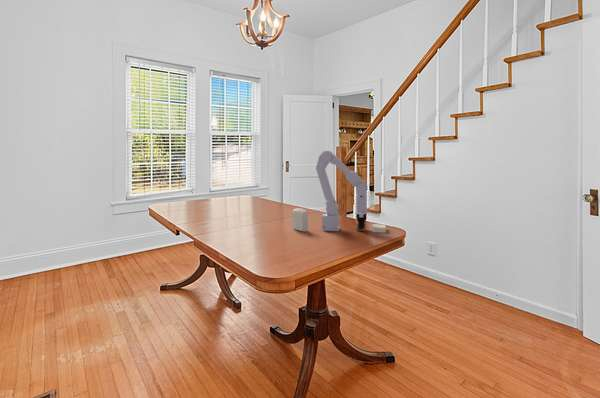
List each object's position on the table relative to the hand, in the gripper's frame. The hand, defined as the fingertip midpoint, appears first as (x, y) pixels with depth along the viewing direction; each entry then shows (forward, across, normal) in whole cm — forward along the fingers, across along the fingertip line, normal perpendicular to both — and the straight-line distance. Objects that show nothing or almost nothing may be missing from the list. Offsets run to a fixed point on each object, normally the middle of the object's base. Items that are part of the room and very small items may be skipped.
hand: (361, 227), depth 181 cm
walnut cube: (+1, 0, 0) cm, 1 cm away
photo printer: (+2, -3, +34) cm, 34 cm away
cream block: (+2, 0, -10) cm, 10 cm away
